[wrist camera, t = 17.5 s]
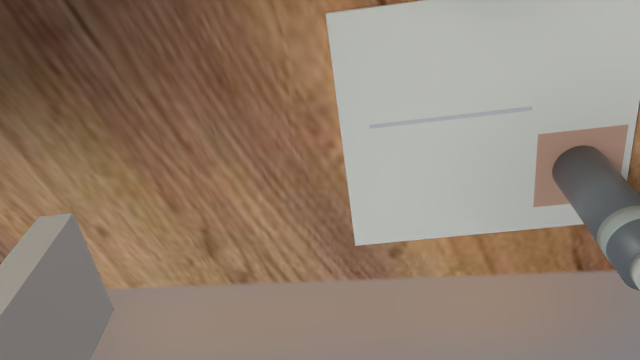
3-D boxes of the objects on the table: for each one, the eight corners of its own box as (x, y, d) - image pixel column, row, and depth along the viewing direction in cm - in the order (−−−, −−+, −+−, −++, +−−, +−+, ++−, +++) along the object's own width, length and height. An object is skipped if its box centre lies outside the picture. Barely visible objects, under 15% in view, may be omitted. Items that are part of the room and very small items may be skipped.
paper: (355, 243, 43) (355, 245, 43) (325, 12, 35) (325, 13, 34) (618, 218, 42) (620, 220, 41) (658, -32, 33) (660, -31, 33)
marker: (549, 192, 40) (623, 306, 30) (553, 147, 38) (633, 252, 28) (602, 187, 40) (695, 301, 30) (608, 142, 38) (710, 245, 28)
